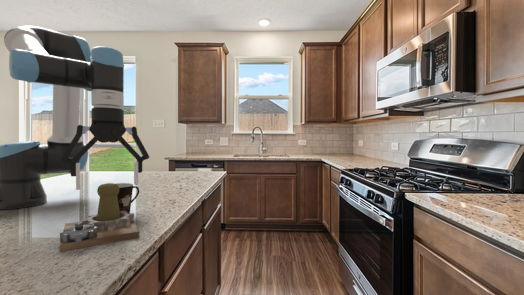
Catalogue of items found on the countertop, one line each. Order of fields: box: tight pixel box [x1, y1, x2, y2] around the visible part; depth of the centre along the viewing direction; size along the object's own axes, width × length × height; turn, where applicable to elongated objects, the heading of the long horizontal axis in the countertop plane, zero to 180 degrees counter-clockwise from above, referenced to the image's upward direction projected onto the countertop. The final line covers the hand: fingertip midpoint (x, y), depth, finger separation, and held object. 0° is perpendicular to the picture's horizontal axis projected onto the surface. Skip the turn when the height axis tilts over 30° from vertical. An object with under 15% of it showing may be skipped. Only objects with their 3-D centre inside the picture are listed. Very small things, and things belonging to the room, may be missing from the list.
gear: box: [59, 223, 97, 243], centre depth 63 cm, size 7×7×3 cm
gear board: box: [58, 211, 140, 252], centre depth 70 cm, size 17×16×4 cm
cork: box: [96, 182, 121, 221], centre depth 72 cm, size 6×6×11 cm
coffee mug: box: [115, 182, 140, 214], centre depth 85 cm, size 12×9×10 cm
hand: (108, 186), depth 72 cm, fingers open, 13 cm apart
